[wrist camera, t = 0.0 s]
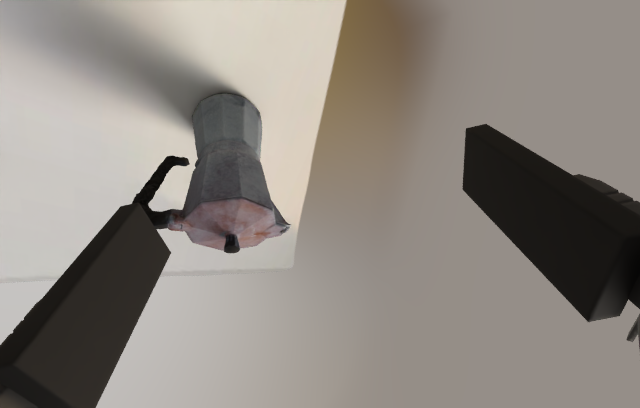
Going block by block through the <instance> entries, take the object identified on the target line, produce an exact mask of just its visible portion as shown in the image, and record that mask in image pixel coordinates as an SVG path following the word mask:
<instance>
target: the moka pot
mask: <svg viewBox="0 0 640 408" xmlns="http://www.w3.org/2000/svg"><path fill="white" fill-rule="evenodd" d="M192 121H193V128H194V135H195V145H196V150H197V157H198V160H197V161H196V163H195V167H196V169H195V170H194V171H193V174H192V178H191V182H190V186H189V189H188V193H187V197H186V201H185V204H184V208H183V210H176V209H170V210H167V211H163V212H157V211H152V210H151V208H149V206H148V203H149V202H150V201H151V200H152V199H153V197H154V195H155V192H156V191H157V190H158V188H159V187H160V185H161V184H162V182H163V181H164V178H165V176H166V174H167V173H168V172H169V170H171V168H172V167H173V166H176V165H180V166H187V165H189V161H188V159H187V158H185V157H181V158H180V157H175V156H167V157H166V158H165V160H164V161H163V162H162V163H161V164H160V165H159V167H158V169H157V170H156V171H155V172H154V174H153V175H152V177H151V178H150V180H148V182H147V183H146V184H145V186H144V187H143V189H142V190H141V191H140V193H138V194H136V197H135V198H134V201H133V202H132V204H134V203H140V205H141V207H142V208H143V210H144V211H145V213H146V214H147V216H148V217H149V219H150V221H151V222H152V224H153V225H154V227H155V228H156V229H164V228H168V229H169V230H173V231H185V232H186V233H187V235H188V236H189V238H190V240H191V241H192V242H193V243H196V244H199V245H203V246H207V247H211V248H215V249H218V250H223V251H224V252H226V253H236V252H238V251H239V250H240V248H246V247H253V246H257V245H258V244H260V243H261V242H262V241H264V240H265V239H266V238H271V237H277V236H280V235H282V233H285V232H287V231H288V230H289V228H290V227H291V224H288V223H287V222H286V221H285V220H284V218H283V217H282V215H281V214H280V212H279V211H278V209H277V208H276V206H275V205H274V203H273V202H272V201H271V199H270V194H269V191H268V188H267V184H266V180H265V176H264V172H263V169H262V165H261V162H260V152H261V139H262V122H261V116H260V112H259V111H258V109H257V108H256V107H255V106H254V105H253V104H252V103H251V102H250V101H248V100H247V99H245V98H243V97H240V96H237V95H231V94H226V93H225V94H217V95H212V96H210V97H208V98H206V99H204V100H202V101H201V102H200V103H199V105H198V107H197V108H196V110H195V112H194V114H193V115H192Z"/></svg>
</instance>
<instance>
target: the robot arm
mask: <svg viewBox="0 0 640 408" xmlns="http://www.w3.org/2000/svg"><path fill="white" fill-rule="evenodd" d="M463 190H464V191H465V192H466V193H467V195H468V196H469V197H470V198H471V199H472V200H473V201H474V202H475V203H476V204H477V205H478V206H479V207H480V208H481V209H482V210H483V211H484V213H486V215H487V216H488V217H489V218H490V219H491V220H492V221H493V222H494V223H495V224H496V225H497V226H498V227H499V228H500V229H501V230H502V231H503V233H504V234H505V235H506V236H507V237H508V238H509V239H510V240H511V241H512V242H513V243H514V244H515V245H516V246H517V247H518V248H519V249H520V250H521V252H522V253H523V254H524V255H525V256H526V257H527V258H528V259H529V260H530V261H531V262H532V263H533V264H534V265H535V266H536V267H537V268H538V269H539V271H541V272H542V274H543V275H544V276H545V277H546V278H547V279H548V280H549V281H550V282H551V283H552V284H553V285H554V286H555V287H556V288H557V290H558V291H559V292H560V293H561V294H562V295H563V296H564V297H565V298H566V299H567V300H568V301H569V302H570V303H571V304H572V305H573V306H574V307H575V309H576V310H578V312H579V313H580V314H581V315H582V316H583V317H584V318H585V319H586V320H587V321H588V322H591V321H596V320H601V319H606V318H611V317H616V316H620V314H621V312H622V311H623V309H624V307H625V305H626V303H627V301H628V299H629V300H630V301H631V302H632V303H633V304H634V305H636V306H637V307H638V308H639V309H640V202H638V201H633V198H631V197H629V196H627V195H625V194H624V193H619V192H618V190H616V189H614V188H613V187H611V186H609V185H607V184H606V183H604V182H602V181H600V180H596V179H593V178H590V177H586V176H583V175H580V174H578V175H574V176H573V175H571V174H570V173H568V172H566V171H564V170H563V169H561V168H559V167H558V166H556V165H554V164H553V163H551V162H549V161H548V160H546V159H544V158H542V157H541V156H539V155H537V154H536V153H534V152H532V151H530V150H529V149H527V148H525V147H524V146H522V145H520V144H519V143H517V142H516V141H514V140H512V139H511V138H509V137H507V136H505V135H504V134H502V133H500V132H499V131H497V130H495V129H494V128H492V127H490V126H489V125H487V124H484V125H480V126H475V127H471V128H466V138H465V156H464V173H463ZM170 254H171V252H170V250H169V249H168V247H167V246H166V244H165V243H164V241H163V239H162V238H161V236H160V235H159V233H158V232H157V230H156V228H155V227H154V225H153V224H152V222H151V221H150V219H149V217H148V216H147V214H146V213H145V211H144V210H143V208H142V207H141V205H140V203H134V204H130V205H125V206H121V207H120V208H119V209H118V210H117V212H116V213H115V214H114V215H113V216H112V217H111V219H110V220H109V221H108V222H107V223H106V224H105V226H104V227H103V228H102V229H101V230H100V231H99V233H98V234H97V235H96V236H95V237H94V238H93V240H92V241H91V242H90V243H89V244H88V245H87V247H86V248H85V249H84V250H83V251H82V252H81V254H80V255H79V256H78V257H77V258H76V260H75V261H74V262H73V263H72V264H71V265H70V267H69V268H68V269H67V270H66V271H65V272H64V274H63V275H62V276H61V277H60V278H59V279H58V281H57V282H56V283H55V284H54V285H53V286H52V288H51V289H50V290H49V291H48V292H47V294H46V295H45V296H44V297H43V298H42V299H41V300H40V301H39V302H38V303H36V304H35V306H34V307H33V308H32V309H31V310H30V312H29V313H28V314H27V315H26V316H25V317H24V320H23V321H21V322H20V323H19V325H17V326H16V328H15V329H14V330H13V333H12V334H10V335H9V336H8V337H7V338H6V339H5V341H4V342H3V343H2V344H1V345H0V408H96V406H97V403H98V401H99V399H100V397H101V395H102V393H103V391H104V389H105V387H106V385H107V383H108V381H109V379H110V377H111V375H112V373H113V371H114V369H115V367H116V364H117V362H118V360H119V358H120V356H121V354H122V352H123V350H124V348H125V346H126V344H127V342H128V340H129V338H130V336H131V334H132V332H133V330H134V327H135V326H136V324H137V322H138V319H139V317H140V315H141V313H142V311H143V309H144V307H145V305H146V303H147V301H148V299H149V297H150V295H151V293H152V291H153V288H154V287H155V285H156V283H157V280H158V278H159V276H160V274H161V272H162V270H163V268H164V266H165V264H166V262H167V260H168V258H169V256H170ZM637 335H639V347H640V314H639V317H638V318H637V320H636V321H635V323H634V325H633V327H632V328H631V330H630V332H629V334H628V337H627V340H628V341H631V342H633V341H634V339H635V337H636V336H637Z"/></svg>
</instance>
